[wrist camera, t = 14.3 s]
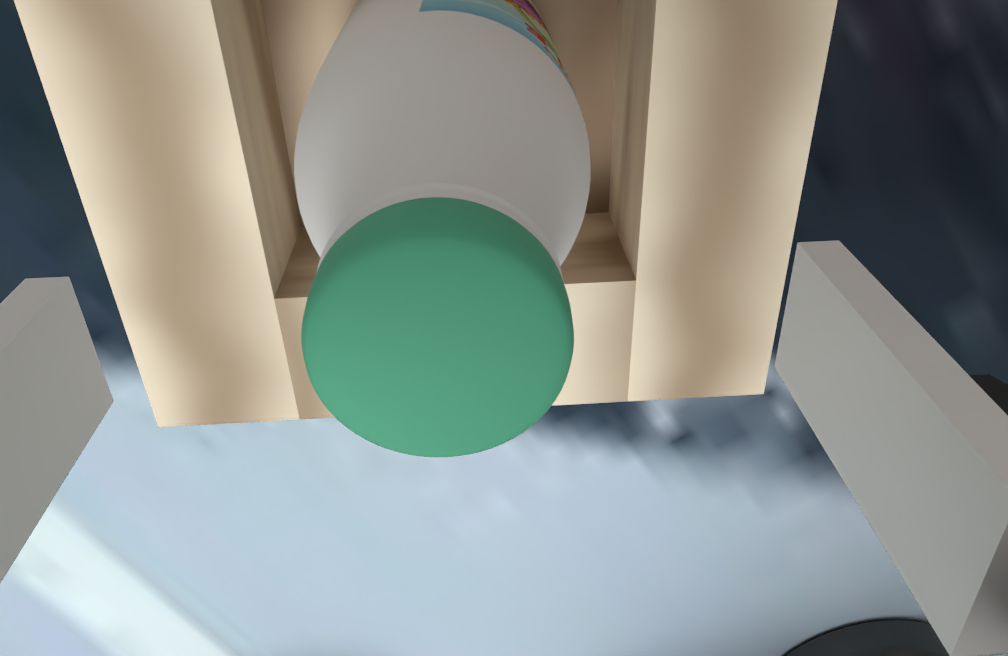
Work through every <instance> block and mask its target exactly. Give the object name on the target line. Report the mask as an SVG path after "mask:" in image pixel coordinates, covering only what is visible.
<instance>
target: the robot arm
mask: <svg viewBox="0 0 1008 656" xmlns="http://www.w3.org/2000/svg"><path fill="white" fill-rule="evenodd" d="M775 369H776V370H777V372H778V374H779V375H780V377H781V379H782V380H783V382H784V384H785V385H786V387H787V388H788V390H789V392H790V393H791V395H792V397H793V398H794V400H795V402H796V403H797V405H798V407H799V408H800V410H801V412H802V413H803V415H804V417H805V418H806V420H807V421H808V423H809V425H810V426H811V428H812V430H813V431H814V433H815V435H816V436H817V438H818V440H819V441H820V443H821V445H822V446H823V448H824V449H825V451H826V453H827V454H828V456H829V458H830V459H831V461H832V463H833V464H834V466H835V468H836V469H837V471H838V473H839V474H840V476H841V478H842V479H843V481H844V482H845V484H846V486H847V487H848V489H849V491H850V492H851V494H852V496H853V497H854V499H855V501H856V502H857V504H858V506H859V507H860V509H861V510H862V512H863V514H864V515H865V517H866V519H867V520H868V522H869V524H870V525H871V527H872V529H873V530H874V532H875V534H876V535H877V537H878V539H879V540H880V542H881V543H882V545H883V547H884V548H885V550H886V552H887V553H888V555H889V557H890V558H891V560H892V562H893V563H894V565H895V567H896V568H897V570H898V571H899V573H900V575H901V576H902V578H903V580H904V581H905V583H906V585H907V586H908V588H909V590H910V591H911V593H912V595H913V596H914V598H915V600H916V601H917V603H918V604H919V606H920V608H921V609H922V611H923V613H924V614H925V616H926V618H927V619H928V621H929V623H930V624H928V623H923V622H917V621H907V620H886V621H875V622H868V623H863V624H858V625H853V626H849V627H845V628H842V629H839V630H835V631H833V632H830V633H827V634H824V635H822V636H820V637H817V638H815V639H813V640H811V641H809V642H807V643H805V644H803V645H801V646H800V647H798V648H796V649H795V650H793V651H792V652H790V653H789V654H787V655H786V656H977V655H993V654H1008V385H1007V384H1005V383H1003V382H1002V381H1000V380H998V379H996V378H995V377H993V376H991V375H989V374H988V375H968V374H967V373H966V372H965V371H964V370H963V369H962V368H961V367H960V366H959V365H958V364H957V362H956V361H955V360H954V359H953V358H952V357H951V356H950V355H949V354H948V353H947V352H946V351H945V350H944V349H943V348H942V347H941V346H940V345H939V344H938V343H937V342H936V341H935V340H934V339H933V338H932V337H931V336H930V334H929V333H928V332H927V331H926V330H925V329H924V328H923V327H922V326H921V325H920V324H919V323H918V322H917V321H916V320H915V319H914V318H913V317H912V316H911V315H910V314H909V313H908V312H907V311H906V310H905V309H904V308H903V306H902V305H901V304H900V303H899V302H898V301H897V300H896V299H895V298H894V297H893V296H892V295H891V294H890V293H889V292H888V291H887V290H886V289H885V288H884V287H883V286H882V285H881V284H880V283H879V282H878V281H877V279H876V278H875V277H874V276H873V275H872V274H871V273H870V272H869V271H868V270H867V269H866V268H865V267H864V266H863V265H862V264H861V263H860V262H859V261H858V260H857V259H856V258H855V257H854V256H853V255H852V254H851V253H850V251H849V250H848V249H847V248H846V247H845V246H844V245H843V244H842V243H841V242H840V241H818V242H798V243H797V248H796V253H795V259H794V264H793V270H792V275H791V281H790V286H789V291H788V297H787V302H786V308H785V313H784V318H783V324H782V329H781V335H780V340H779V345H778V351H777V356H776V362H775ZM112 403H113V398H112V395H111V393H110V390H109V387H108V384H107V381H106V379H105V376H104V373H103V370H102V367H101V365H100V362H99V359H98V356H97V354H96V351H95V348H94V345H93V342H92V340H91V337H90V334H89V331H88V328H87V326H86V323H85V320H84V317H83V314H82V312H81V309H80V306H79V303H78V300H77V298H76V295H75V292H74V289H73V287H72V284H71V281H70V278H69V277H52V278H31V279H25V280H24V281H23V282H22V283H21V284H20V285H19V286H18V287H17V288H16V289H15V290H14V291H13V292H12V293H11V294H10V295H9V296H8V297H7V298H6V299H5V300H4V301H3V302H2V303H1V304H0V583H1V582H2V580H3V578H4V577H5V575H6V573H7V572H8V570H9V569H10V567H11V565H12V564H13V562H14V561H15V559H16V557H17V556H18V554H19V553H20V551H21V549H22V548H23V546H24V544H25V543H26V541H27V540H28V538H29V536H30V535H31V533H32V532H33V530H34V528H35V527H36V525H37V524H38V522H39V520H40V519H41V517H42V515H43V514H44V512H45V511H46V509H47V507H48V506H49V504H50V503H51V501H52V499H53V498H54V496H55V495H56V493H57V491H58V490H59V488H60V486H61V485H62V483H63V482H64V480H65V478H66V477H67V475H68V474H69V472H70V470H71V469H72V467H73V466H74V464H75V462H76V461H77V459H78V457H79V456H80V454H81V453H82V451H83V449H84V448H85V446H86V445H87V443H88V441H89V440H90V438H91V437H92V435H93V433H94V432H95V430H96V428H97V427H98V425H99V424H100V422H101V420H102V419H103V417H104V416H105V414H106V412H107V411H108V409H109V408H110V406H111V404H112Z"/></svg>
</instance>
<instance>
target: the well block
mask: <svg viewBox="0 0 1008 656" xmlns="http://www.w3.org/2000/svg"><path fill="white" fill-rule="evenodd" d="M358 1H359V0H14V2H15V5H16V8H17V11H18V14H19V17H20V20H21V23H22V26H23V29H24V32H25V34H26V37H27V40H28V43H29V46H30V49H31V52H32V55H33V58H34V61H35V64H36V67H37V70H38V73H39V76H40V79H41V82H42V85H43V88H44V91H45V94H46V97H47V99H48V102H49V105H50V108H51V111H52V114H53V117H54V120H55V123H56V126H57V129H58V132H59V135H60V138H61V141H62V144H63V147H64V150H65V153H66V156H67V159H68V162H69V165H70V167H71V170H72V173H73V176H74V179H75V182H76V185H77V188H78V191H79V194H80V197H81V200H82V203H83V206H84V209H85V212H86V215H87V218H88V221H89V224H90V227H91V230H92V232H93V235H94V238H95V241H96V244H97V247H98V250H99V253H100V256H101V259H102V262H103V265H104V268H105V271H106V274H107V277H108V280H109V283H110V286H111V289H112V292H113V295H114V297H115V300H116V303H117V306H118V309H119V312H120V315H121V318H122V321H123V324H124V327H125V330H126V333H127V336H128V339H129V342H130V345H131V348H132V351H133V354H134V357H135V360H136V363H137V365H138V368H139V371H140V374H141V377H142V380H143V383H144V386H145V389H146V392H147V395H148V398H149V401H150V404H151V407H152V410H153V413H154V416H155V419H156V422H157V425H158V427H169V426H187V425H206V424H224V423H242V422H260V421H279V420H297V419H315V418H333V417H334V416H333V415H332V413H331V412H330V411H329V410H328V409H327V408H326V407H325V405H324V404H323V403H322V401H321V400H320V398H319V397H318V395H317V394H316V392H315V390H314V388H313V386H312V384H311V382H310V379H309V376H308V373H307V370H306V366H305V362H304V357H303V351H302V343H301V329H302V321H303V315H304V311H305V306H306V302H307V298H308V294H309V291H310V288H311V285H312V283H313V280H314V278H315V275H316V272H317V268H318V264H319V260H320V256H319V255H318V253H317V251H316V249H315V248H314V246H313V244H312V242H311V240H310V237H309V235H308V233H307V230H306V228H305V225H304V222H303V219H302V216H301V213H300V210H299V205H298V200H297V194H296V187H295V178H294V156H295V146H296V137H297V131H298V126H299V121H300V118H301V115H302V112H303V109H304V106H305V103H306V100H307V98H308V95H309V93H310V90H311V88H312V85H313V83H314V81H315V79H316V76H317V74H318V72H319V70H320V68H321V66H322V64H323V63H324V61H325V59H326V57H327V55H328V53H329V51H330V49H331V47H332V46H333V44H334V42H335V40H336V39H337V37H338V35H339V33H340V32H341V30H342V28H343V26H344V25H345V23H346V21H347V19H348V18H349V16H350V14H351V13H352V11H353V9H354V8H355V6H356V4H357V3H358ZM837 1H838V0H531V2H532V3H533V4H534V6H535V7H536V9H537V11H538V12H539V14H540V16H541V18H542V20H543V22H544V24H545V26H546V28H547V30H548V32H549V34H550V36H551V39H552V41H553V43H554V45H555V47H556V49H557V51H558V54H559V56H560V58H561V60H562V63H563V65H564V67H565V70H566V72H567V74H568V77H569V79H570V81H571V84H572V86H573V88H574V91H575V94H576V97H577V100H578V103H579V106H580V109H581V112H582V116H583V119H584V122H585V125H586V130H587V135H588V140H589V149H590V164H591V180H590V189H589V196H588V201H587V206H586V211H585V215H584V219H583V222H582V225H581V228H580V230H579V233H578V235H577V237H576V240H575V242H574V244H573V246H572V248H571V250H570V252H569V254H568V255H567V257H566V259H565V260H564V262H563V263H562V265H561V266H560V267H561V271H562V277H563V282H564V285H565V288H566V291H567V295H568V298H569V302H570V307H571V314H572V321H573V328H574V348H573V355H572V360H571V364H570V368H569V372H568V375H567V378H566V381H565V383H564V385H563V388H562V390H561V392H560V393H559V395H558V397H557V398H556V400H555V402H554V403H553V404H552V405H570V404H588V403H606V402H624V401H643V400H661V399H679V398H697V397H715V396H734V395H752V394H764V389H765V384H766V378H767V373H768V368H769V363H770V357H771V352H772V347H773V341H774V336H775V331H776V325H777V320H778V315H779V309H780V304H781V299H782V293H783V288H784V283H785V277H786V272H787V267H788V261H789V256H790V251H791V246H792V240H793V235H794V230H795V224H796V219H797V214H798V208H799V203H800V198H801V192H802V187H803V182H804V176H805V171H806V166H807V160H808V155H809V150H810V144H811V139H812V134H813V129H814V123H815V118H816V113H817V107H818V102H819V97H820V91H821V86H822V81H823V75H824V70H825V65H826V59H827V54H828V49H829V43H830V38H831V33H832V27H833V22H834V17H835V12H836V6H837Z"/></svg>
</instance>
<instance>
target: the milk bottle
mask: <svg viewBox="0 0 1008 656" xmlns="http://www.w3.org/2000/svg"><path fill="white" fill-rule="evenodd" d="M294 178H295V187H296V194H297V200H298V205H299V210H300V213H301V216H302V219H303V222H304V225H305V228H306V230H307V233H308V235H309V237H310V240H311V242H312V244H313V246H314V248H315V249H316V251H317V253H318V255H319V256H320V260H319V264H318V268H317V272H316V275H315V278H314V280H313V283H312V285H311V288H310V291H309V294H308V298H307V302H306V306H305V311H304V315H303V321H302V329H301V343H302V351H303V357H304V362H305V366H306V370H307V373H308V376H309V379H310V382H311V384H312V386H313V388H314V390H315V392H316V394H317V395H318V397H319V398H320V400H321V401H322V403H323V404H324V405H325V407H326V408H327V409H328V410H329V411H330V412H331V413H332V415H333V416H334V417H335V418H336V419H337V420H339V421H340V422H341V423H342V424H343V425H344V426H346V427H347V428H348V429H350V430H351V431H353V432H354V433H356V434H357V435H359V436H361V437H362V438H364V439H366V440H368V441H370V442H372V443H374V444H376V445H379V446H381V447H384V448H386V449H390V450H393V451H396V452H400V453H405V454H409V455H416V456H424V457H453V456H461V455H468V454H473V453H477V452H481V451H484V450H487V449H490V448H493V447H496V446H498V445H501V444H503V443H505V442H507V441H509V440H511V439H513V438H515V437H516V436H518V435H520V434H521V433H523V432H524V431H526V430H527V429H528V428H530V427H531V426H532V425H533V424H535V423H536V422H537V421H538V420H539V419H540V418H541V417H542V416H543V415H544V414H545V413H546V412H547V411H548V409H549V408H550V407H551V406H552V404H553V403H554V402H555V400H556V398H557V397H558V395H559V393H560V392H561V390H562V388H563V385H564V383H565V381H566V378H567V375H568V372H569V368H570V364H571V360H572V355H573V348H574V328H573V321H572V314H571V307H570V302H569V298H568V295H567V291H566V288H565V285H564V282H563V277H562V271H561V267H560V266H561V265H562V263H563V262H564V260H565V259H566V257H567V255H568V254H569V252H570V250H571V248H572V246H573V244H574V242H575V240H576V237H577V235H578V233H579V230H580V228H581V225H582V222H583V219H584V215H585V211H586V206H587V201H588V196H589V189H590V180H591V164H590V149H589V140H588V135H587V130H586V125H585V122H584V119H583V116H582V112H581V109H580V106H579V103H578V100H577V97H576V94H575V91H574V88H573V86H572V84H571V81H570V79H569V77H568V74H567V72H566V70H565V67H564V65H563V63H562V60H561V58H560V56H559V54H558V51H557V49H556V47H555V45H554V43H553V41H552V39H551V36H550V34H549V32H548V30H547V28H546V26H545V24H544V22H543V20H542V18H541V16H540V14H539V12H538V11H537V9H536V7H535V6H534V4H533V3H532V2H531V0H359V1H358V3H357V4H356V6H355V8H354V9H353V11H352V13H351V14H350V16H349V18H348V19H347V21H346V23H345V25H344V26H343V28H342V30H341V32H340V33H339V35H338V37H337V39H336V40H335V42H334V44H333V46H332V47H331V49H330V51H329V53H328V55H327V57H326V59H325V61H324V63H323V64H322V66H321V68H320V70H319V72H318V74H317V76H316V79H315V81H314V83H313V85H312V88H311V90H310V93H309V95H308V98H307V100H306V103H305V106H304V109H303V112H302V115H301V118H300V121H299V126H298V131H297V137H296V146H295V156H294Z"/></svg>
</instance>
